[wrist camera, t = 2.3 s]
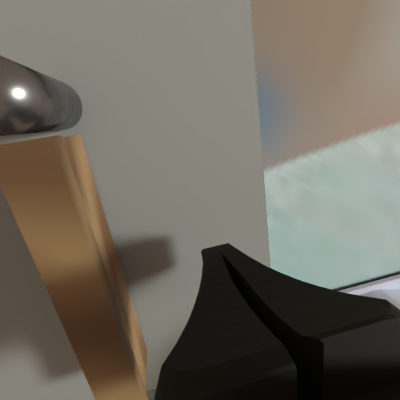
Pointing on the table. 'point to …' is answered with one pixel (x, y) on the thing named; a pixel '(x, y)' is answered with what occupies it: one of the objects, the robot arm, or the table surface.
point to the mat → (138, 165)
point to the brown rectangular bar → (77, 260)
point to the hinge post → (34, 101)
